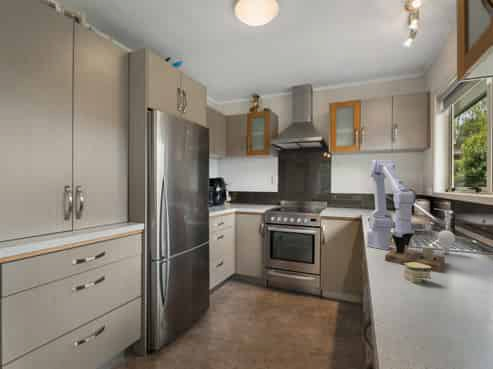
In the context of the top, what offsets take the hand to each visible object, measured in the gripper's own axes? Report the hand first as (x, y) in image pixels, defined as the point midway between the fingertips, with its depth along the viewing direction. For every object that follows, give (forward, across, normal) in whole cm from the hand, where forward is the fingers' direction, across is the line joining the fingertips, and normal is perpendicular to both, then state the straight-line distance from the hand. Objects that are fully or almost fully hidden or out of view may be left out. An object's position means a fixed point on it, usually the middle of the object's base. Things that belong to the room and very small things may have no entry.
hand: (402, 251), depth 107 cm
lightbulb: (+4, +25, -12) cm, 28 cm away
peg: (+3, 0, -9) cm, 10 cm away
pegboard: (+3, 0, -4) cm, 6 cm away
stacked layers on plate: (+4, -24, -9) cm, 26 cm away
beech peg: (+3, 0, 0) cm, 3 cm away
